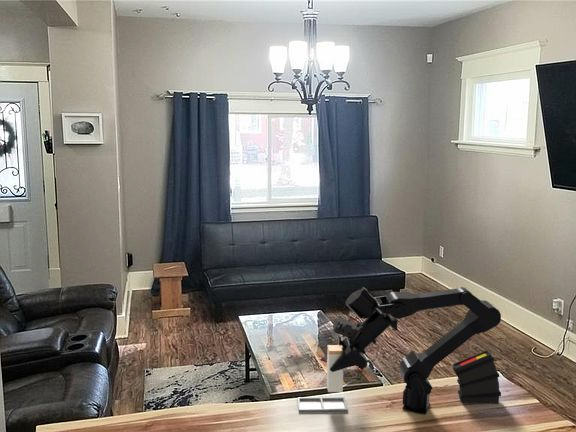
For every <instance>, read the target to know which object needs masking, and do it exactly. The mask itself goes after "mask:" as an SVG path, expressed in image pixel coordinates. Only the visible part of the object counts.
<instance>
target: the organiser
mask: <svg viewBox="0 0 576 432" xmlns="http://www.w3.org/2000/svg"><path fill="white" fill-rule="evenodd" d="M296 399H297V408H298V413H300V414H302V413H303V414H304V413H306V414H307V413H309V414H310V413H311V414H312V413H313V414H314V413H315V414H316V413H318V414H319V413H349V408H348V404H347V402H346V401H347V400H346V398H345V396H343V397H342V396H334V397H333V396H331V397H330V396H329V397H327V396H325V397H324V396H323V397H322V396H318V397H317V396H315V397H310V396H309V397H307V396H306V397H301V396H299V397H297V398H296Z"/></svg>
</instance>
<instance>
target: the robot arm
mask: <svg viewBox="0 0 576 432" xmlns="http://www.w3.org/2000/svg"><path fill="white" fill-rule="evenodd" d="M345 305H346V306H347V307H348V308H349V309H350V310H351V311H352V312H353V313H354V314H355V315H356V316H357V317H358V318H359V319H364V320H363V322H361V321H357V322H356V323H352V322H351V321H348V320H346V319H344V318H343V317H340V316H337V317H336V320H335V321H334V324H333V325H332V329H333V332H334V333H335V334H337V335H338V337H337V339H338V340H337V341H338V342H337V345H342V352H341V356H340V357H339V358H338V359H337V360H336V362H335V363H334V364H333V365H332V367H331V368H330V370H331V371H332V372H334V371H338V370H341V369H343V370H344V369H347V368H352V367H357V368H358V369H359V370H360V371H363V370H364V369H366V368H367V367H368V360H367V357H366V355H365V354H366V353H367V351H366V349H367V348H368V347H369V346H370V345H371V344H374V345H375V344H377V342H378V341H377V339H378V338H379V337H380V336H382V334H383V333H384V332H386V330H387V329H389V328H390V327H391V328H392V329H393V330H394V331H395V332H396V331H398V322H399V320H400V319H403V318H407V317H410V316H412V315H414V314H416V313H417V312H421V311H424V310H433V309H439V308H447V307H455V306H465V307H466V308H467V309H468V310H467V312H466V314H465V316H464V318H463V320H462V321H461V322H460V323H458V324H457V325H456V326H455V327H453V328H451V330H449V331H448V332H447V333H446V334H444V335H443V336H442V337H440V338H439V339H438V340H437V341H435V342H434V343H433V344H431V345H430V346H429V347H428V348H427V349H425V350H424V351H422V352H418V353H416V352H415V350H412V351H410V352H409V353H408V354H407V355H406V356H404V357H402V358H401V359H402V361H400V363H399V365H398V371H399V373H400V376H401V377H402V379H403V381H404V384H406V385H405V387H404V389H403V392H402V405H403V406H402V410H404V411H407V412H410V413H411V412H412V413H414V414H415V413H416V414H420V415H426V414H427V413H428V410H429V408H430V407H431V403H430V394H431V392H432V390H433V386H432V384H431V383H430V381H429V380H428V379H429V377H430V375H431V373H432V372H433V369H434V368H435V366H437V365H438V364H439V363H440V362H442V361H443V360H445V359H446V358H447V357H448V356H449V355H451V354H452V353H453V352H454V351H456V350H457V349H458V348H460V347H461V346H463V345H464V344H465V343H466V342H467V341H469V340H470V339H471V338H472V337H474V336H475V335H479V334H483V333H487V332H489V331H490V330H492V329H494V328H497V326H499V324H500V323H501V321H502V320H501V319H502V314H501V312H500V310H499V309H498V308H496V307H495V306H494V305H493V304H492V303H491V302H489V301H487V300H481V299H479V298H478V297H477V296H476V295H474V294H473V293H472V292H471V291H470V290H468V289H467V288H466V287H463V286H460V287H457V288H452V289H451V288H449V289H443V290H436V291H429V292H423V293H412V292H407V291H391V292H389V293H388V294H387V295H382V296H375V297H374V296H373V295H371V293H370V292H369V291H368V289H367V288H365V287H364V286H362V288H360V289H358V290H356V291H353V292H352V293H351V294H350V295H349V296H348V297H347V299H346V301H345ZM398 319H399V320H398ZM339 335H341V336H339Z"/></svg>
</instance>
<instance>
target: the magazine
mask: <svg viewBox="0 0 576 432" xmlns="http://www.w3.org/2000/svg"><path fill="white" fill-rule="evenodd" d="M494 361H495V359H494V356H493V355H492V354H491V352H490V351H489V350H483V351H481V352H479V353H476V354H474V355H472V356H470V357H467V358H465V359H464V358H463V360H460V361H457V362H455V363H453V364H452V366H453V367H452V370H453V371H454V374H455V375H456V376H457V379H456V382H457V384H458V386H459V390H457V394H458V398H459V400H460V402H461V403H463V404H464V403H465V404H495V405H496V404H499V403H500V397H501V396H502V391H500V383H499V378H500V373H499V372H498V370H497V367H496V364H495V362H494Z"/></svg>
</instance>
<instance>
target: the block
mask: <svg viewBox="0 0 576 432" xmlns="http://www.w3.org/2000/svg"><path fill="white" fill-rule="evenodd" d="M326 350H327V353H326V354H327V356H326V361H327V363H326V388H327V392H328V393H343V390H344V369H341V370H338V371H334V372H332V371H331V370H330V368H331V367H332V365H333V364H334V363H335V362H336V360H337V359H338V358H339V357H340V356H341V352H342V345H338V344H327V349H326Z"/></svg>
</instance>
